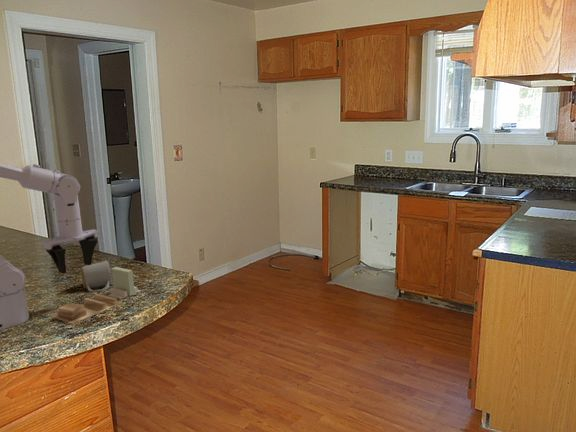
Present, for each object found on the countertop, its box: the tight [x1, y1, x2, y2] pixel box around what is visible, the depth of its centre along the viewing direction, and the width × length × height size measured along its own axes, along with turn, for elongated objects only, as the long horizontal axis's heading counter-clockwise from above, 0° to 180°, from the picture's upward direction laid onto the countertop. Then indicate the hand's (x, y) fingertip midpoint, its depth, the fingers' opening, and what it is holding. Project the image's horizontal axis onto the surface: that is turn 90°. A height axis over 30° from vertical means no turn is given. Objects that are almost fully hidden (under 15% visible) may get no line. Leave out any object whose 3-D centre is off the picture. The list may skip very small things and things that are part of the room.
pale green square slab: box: [110, 266, 136, 297], centre depth 133 cm, size 2×7×7 cm, turn 58°
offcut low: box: [56, 310, 87, 321], centre depth 119 cm, size 4×6×1 cm, turn 58°
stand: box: [107, 285, 142, 300], centre depth 134 cm, size 7×6×2 cm
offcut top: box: [57, 302, 84, 315], centre depth 119 cm, size 4×5×1 cm
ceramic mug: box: [79, 260, 113, 293], centre depth 140 cm, size 11×8×8 cm
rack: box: [50, 293, 123, 325], centre depth 123 cm, size 15×9×2 cm, turn 148°
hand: (75, 268), depth 127 cm, fingers open, 7 cm apart
